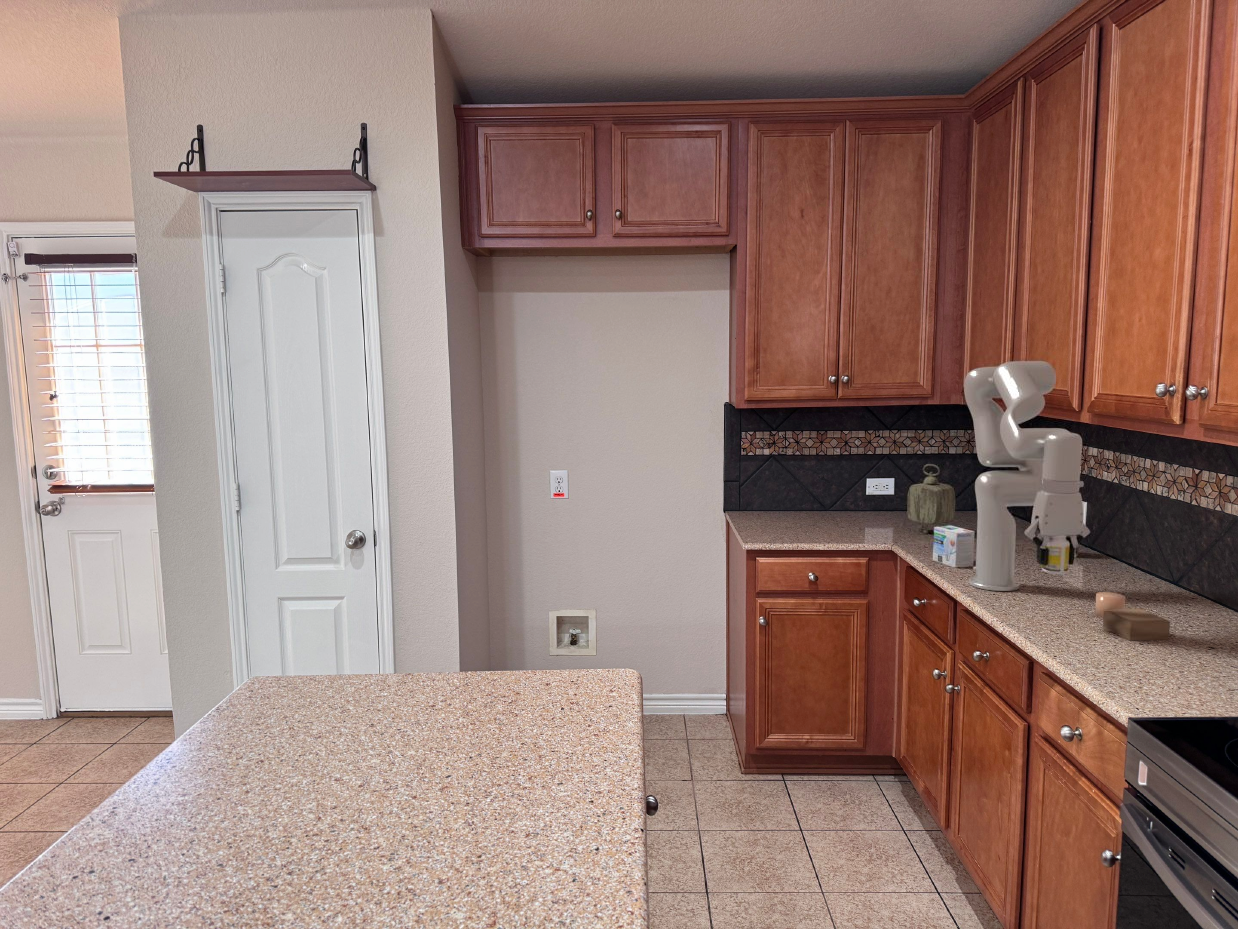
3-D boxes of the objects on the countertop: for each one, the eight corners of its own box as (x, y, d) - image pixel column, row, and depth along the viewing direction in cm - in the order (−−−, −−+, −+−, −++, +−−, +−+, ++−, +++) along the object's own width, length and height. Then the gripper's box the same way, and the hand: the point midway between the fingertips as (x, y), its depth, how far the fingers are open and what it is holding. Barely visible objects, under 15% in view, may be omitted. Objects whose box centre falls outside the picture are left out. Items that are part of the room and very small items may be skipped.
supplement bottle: (1059, 568, 193) (1062, 527, 192) (1072, 574, 188) (1075, 532, 186) (1036, 568, 193) (1039, 527, 192) (1049, 575, 188) (1052, 533, 186)
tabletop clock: (954, 534, 293) (956, 465, 290) (938, 537, 288) (940, 467, 285) (920, 528, 305) (922, 461, 302) (903, 531, 300) (905, 463, 297)
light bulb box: (932, 560, 255) (933, 526, 254) (950, 558, 257) (951, 524, 256) (955, 568, 245) (957, 532, 244) (974, 566, 247) (975, 531, 246)
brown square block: (1102, 627, 188) (1103, 609, 188) (1140, 626, 189) (1141, 608, 188) (1129, 640, 179) (1130, 621, 179) (1168, 639, 180) (1170, 620, 179)
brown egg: (1089, 612, 200) (1090, 592, 199) (1113, 611, 200) (1114, 591, 200) (1105, 620, 194) (1106, 599, 193) (1130, 619, 194) (1131, 598, 194)
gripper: (1085, 482, 192) (1080, 558, 194) (1014, 484, 191) (1010, 560, 193) (1106, 488, 184) (1100, 566, 187) (1033, 490, 183) (1028, 569, 186)
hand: (1055, 562), depth 190 cm, fingers closed on supplement bottle, 5 cm apart
